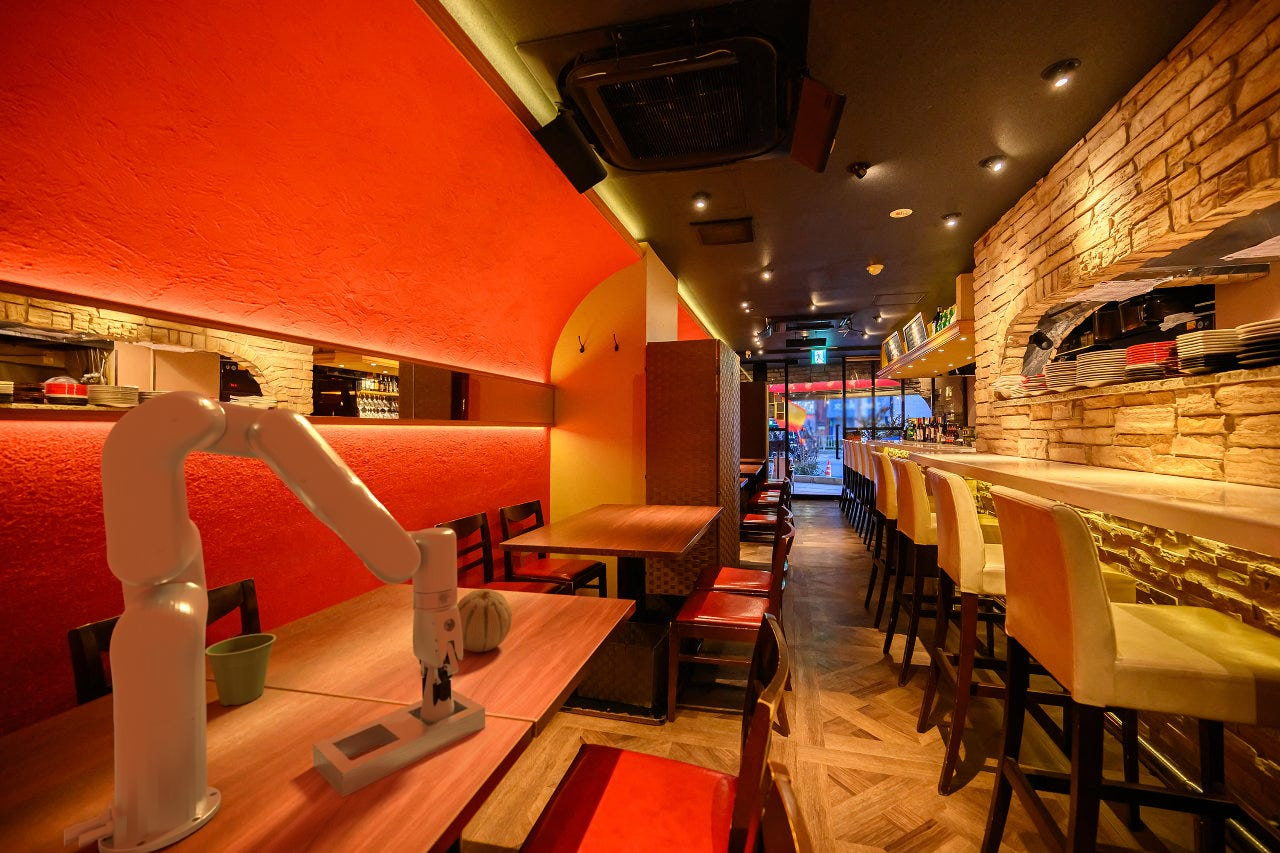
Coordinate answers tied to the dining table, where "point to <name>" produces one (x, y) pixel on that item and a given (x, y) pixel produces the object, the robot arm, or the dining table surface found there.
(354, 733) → the beige compartment tray
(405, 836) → the dining table surface
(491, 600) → the cantaloupe
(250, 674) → the plant pot
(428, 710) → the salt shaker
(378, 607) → the dining table surface
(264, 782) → the dining table surface
